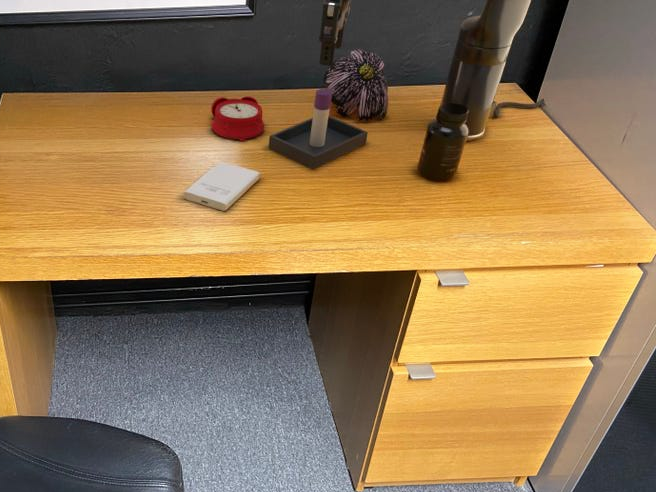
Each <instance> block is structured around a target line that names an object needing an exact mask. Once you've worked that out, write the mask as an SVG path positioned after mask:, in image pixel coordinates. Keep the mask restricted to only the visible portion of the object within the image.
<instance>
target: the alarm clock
mask: <svg viewBox="0 0 656 492" xmlns="http://www.w3.org/2000/svg"><path fill="white" fill-rule="evenodd" d="M262 108H263V107H262V106H261V105H260V104H259V102H258V100H257V99H256V98H255V97H253V96H250V95H247V96H243V97H241V98H227V97H223V96H222V97H218V98H216V99H214V100H213V102H212V103H211V107H210V109H211V110H210V111H211V114H212V116H213V117H214V119H213V121H212V122H211V129H212V131H213V132H214V133H215V134H217V135H218V136H221V137H224V138H227V139H234V140H239V142H240V143H241V142H246V139H250V138H254V137H257V136H259V135H261V134H262V133H263V132H264V131H265V123H264V121H263V113H264V112H263V111H264V110H263V109H262Z"/></svg>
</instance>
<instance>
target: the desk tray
mask: <svg viewBox="0 0 656 492" xmlns="http://www.w3.org/2000/svg"><path fill="white" fill-rule="evenodd" d="M312 121H313V117H311V118H308V119H306V120H303V121H301V122H299V123H297V124H294V125H291V126H290V127H287V128H285V129H281V130H280V131H278V132H275V133H273V134H271V135H269V138H268V149H269V150H271V151H274V152H275V153H277V154H280V155H282V156H284V157H286V158H288V159H290V160H293V161H294V162H297V163H299V164H300V165H303V166H305V167H307V168H309V169H311V170H315V169H318V168H320V167H321V166H323V165H325V164H327V163H330V162H332V161H334V160H336V159H338V158H340V157H342V156H345V155H347V154H348V153H350V152H353V151H355V150H357V149H359V148H362V147H363V146H366V144H367V139H368V135H369V132H368V131H367V130H364V129H362V128H359V127H357V126H354V125H352V124H349V123H347V122H345V121H342V120H340V119H337V118H335V117H332V116H330V115H329V116H328V123H327V130H326V136H325V143H324V146H322V147H313V146H311V145H310V144H309V143H310V135H311V128H312Z"/></svg>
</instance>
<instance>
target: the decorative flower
mask: <svg viewBox="0 0 656 492" xmlns="http://www.w3.org/2000/svg"><path fill="white" fill-rule="evenodd" d="M384 68H385V63H384V61H383V60H382V58H381V57H380V56H379V55H378V54H377V53H376V52H374V51H372V50H369V49H364V48H363V49H362V48H361V49H359V48H358V49H355V50H352V51H351V50H350V52H349V55H345V56H341V57H339V58H336V59H334V60H333V63H332V65H331V66H328V68H327V70H326V71H325V72H324V76H323V84H326V85H328V86H327V87H326V88H325V89H328V90H330V91H332V98H331V104H333V105H334V106H335V107H336V110H337V111H336V114H338V115H339V116H340V117H342V118H347V117H349V116H351V115H352V114H353V113H355V111H356V110H358V111H357V117H358V122H361V121H363V120H364V121H367V122H369V121H372V120H373V119H374V118H375V119H376V118H379V117H380V120H383V119H385V117H386V116H387V113H388V108H389V94H388V92H389V84H388V78H387V76H386V74H385V72H384V70H383V69H384Z"/></svg>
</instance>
